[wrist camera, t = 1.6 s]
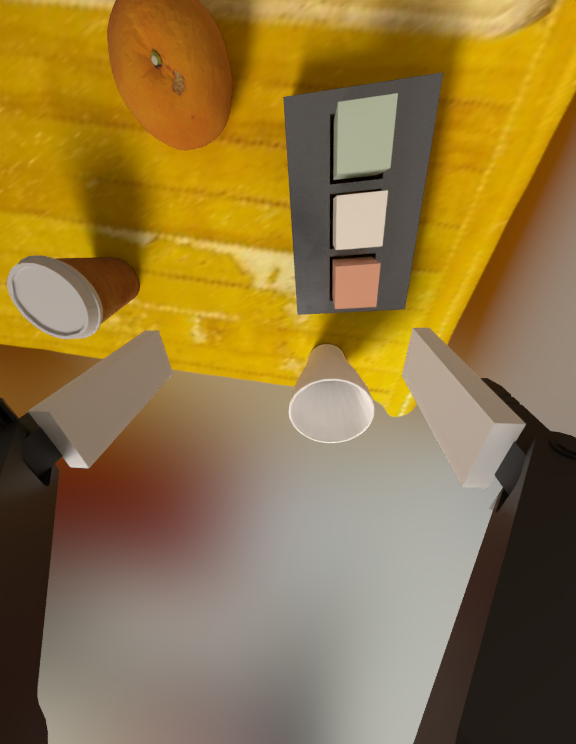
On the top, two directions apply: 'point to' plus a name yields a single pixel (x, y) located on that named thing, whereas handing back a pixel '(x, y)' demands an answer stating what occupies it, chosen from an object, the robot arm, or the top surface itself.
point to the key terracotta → (355, 282)
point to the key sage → (364, 136)
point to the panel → (357, 188)
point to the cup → (330, 398)
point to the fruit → (171, 69)
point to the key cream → (359, 220)
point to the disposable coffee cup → (71, 292)
